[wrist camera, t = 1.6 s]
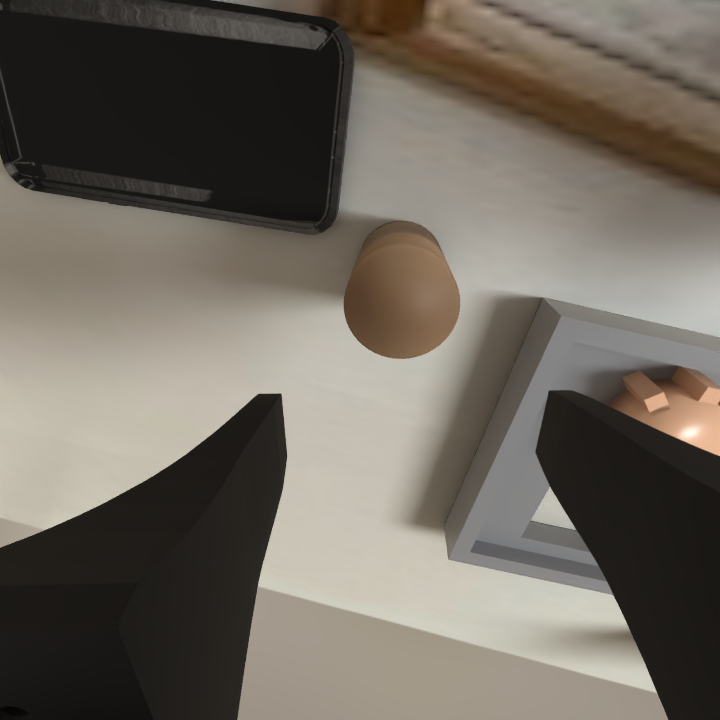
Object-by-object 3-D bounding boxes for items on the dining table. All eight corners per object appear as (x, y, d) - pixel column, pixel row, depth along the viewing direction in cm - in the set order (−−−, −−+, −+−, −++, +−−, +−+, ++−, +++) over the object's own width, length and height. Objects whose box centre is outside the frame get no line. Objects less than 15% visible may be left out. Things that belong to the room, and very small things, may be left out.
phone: (-46, -40, 15) (356, 22, 15) (-18, -28, 16) (358, 30, 16) (8, 189, 19) (333, 241, 19) (28, 187, 20) (336, 236, 20)
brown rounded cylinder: (368, 212, 19) (356, 236, 13) (454, 231, 19) (476, 263, 13) (351, 294, 20) (334, 345, 15) (429, 312, 21) (440, 369, 15)
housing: (543, 297, 20) (570, 324, 17) (822, 361, 20) (900, 399, 17) (444, 526, 27) (450, 574, 24) (649, 570, 27) (682, 624, 24)
